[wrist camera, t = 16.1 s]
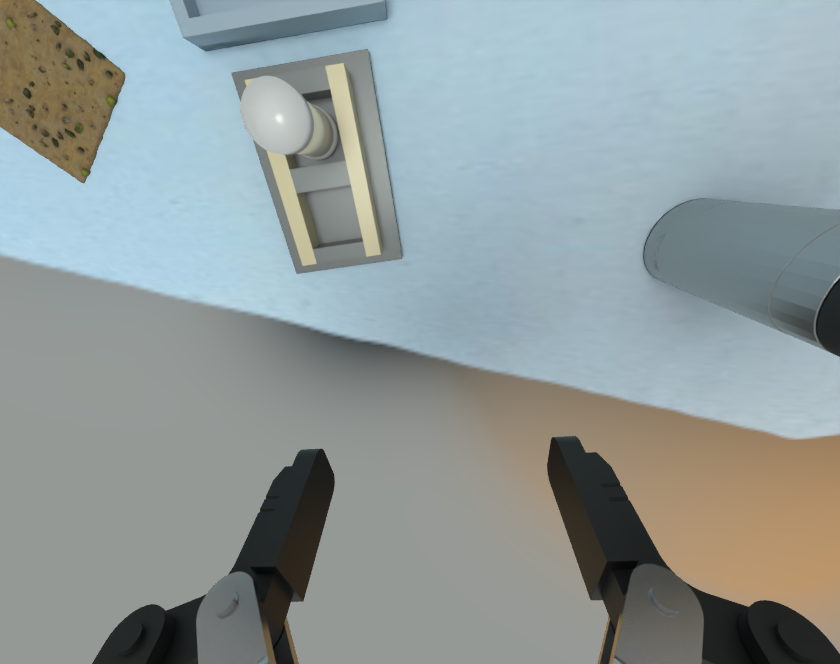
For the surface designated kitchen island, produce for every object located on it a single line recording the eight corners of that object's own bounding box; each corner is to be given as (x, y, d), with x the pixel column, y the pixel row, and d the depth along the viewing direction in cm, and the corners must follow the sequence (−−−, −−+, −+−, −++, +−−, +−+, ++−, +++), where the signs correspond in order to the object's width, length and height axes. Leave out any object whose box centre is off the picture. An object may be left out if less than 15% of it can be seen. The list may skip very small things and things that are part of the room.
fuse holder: (369, 53, 27) (363, 37, 24) (402, 256, 35) (401, 264, 32) (237, 76, 28) (215, 63, 25) (299, 271, 36) (288, 280, 33)
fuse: (332, 103, 28) (295, 70, 19) (344, 156, 30) (315, 148, 21) (287, 111, 28) (229, 81, 19) (301, 163, 30) (255, 158, 21)
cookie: (-55, 89, 28) (-70, 86, 27) (-28, -55, 24) (-44, -63, 23) (88, 186, 32) (79, 186, 31) (132, 75, 28) (123, 72, 27)
